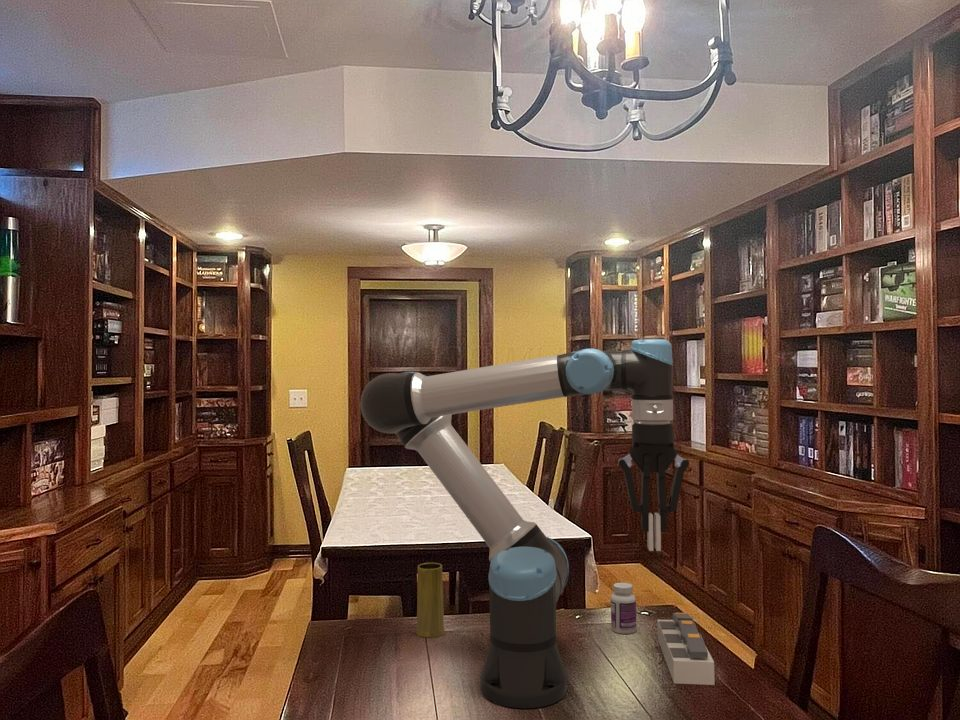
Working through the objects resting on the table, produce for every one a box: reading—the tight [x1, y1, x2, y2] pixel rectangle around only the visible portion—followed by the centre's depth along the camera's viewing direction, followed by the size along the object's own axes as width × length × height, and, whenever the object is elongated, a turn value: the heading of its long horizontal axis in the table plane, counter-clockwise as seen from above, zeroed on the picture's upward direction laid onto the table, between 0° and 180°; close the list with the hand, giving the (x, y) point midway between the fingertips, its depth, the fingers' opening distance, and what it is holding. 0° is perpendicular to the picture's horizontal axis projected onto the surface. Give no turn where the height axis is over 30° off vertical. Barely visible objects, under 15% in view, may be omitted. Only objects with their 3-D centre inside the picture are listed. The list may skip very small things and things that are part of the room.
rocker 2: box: [678, 620, 700, 643], centre depth 138 cm, size 3×6×1 cm, turn 174°
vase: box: [415, 562, 446, 639], centre depth 153 cm, size 6×6×14 cm
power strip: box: [656, 619, 715, 686], centre depth 138 cm, size 7×21×5 cm, turn 174°
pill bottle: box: [610, 582, 637, 635], centre depth 154 cm, size 5×5×10 cm
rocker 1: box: [672, 612, 694, 624], centre depth 145 cm, size 3×6×1 cm, turn 174°
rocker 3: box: [684, 633, 709, 658], centre depth 131 cm, size 3×6×1 cm, turn 174°
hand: (654, 548), depth 134 cm, fingers closed
